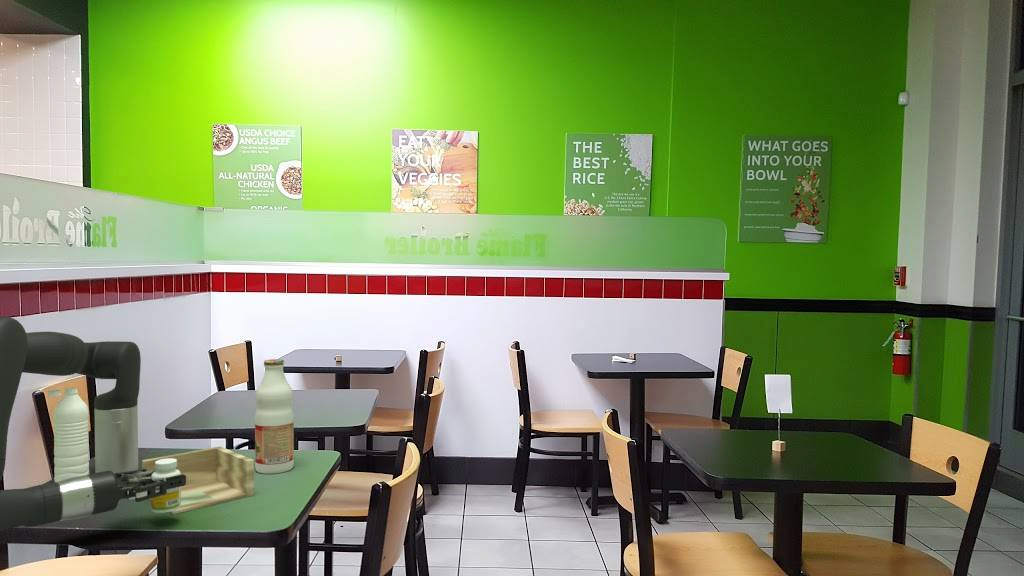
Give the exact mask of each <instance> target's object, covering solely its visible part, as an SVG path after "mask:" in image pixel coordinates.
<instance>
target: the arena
mask: <svg viewBox="0 0 1024 576" xmlns="http://www.w3.org/2000/svg"><path fill="white" fill-rule="evenodd" d="M167 458H173V459H176V460H177V467H176V469H177V470H179V471H180V473H181V474H184V475H185V476H186V484H185V485H184V486H181V506H180V508H179V509H177V510H175V511H171V512H169V513H170V514H171V515H177V514H181V513H184V512H188V511H193V510H197V509H198V510H199V509H201V508H206V507H210V506H213V505H214V506H215V505H219V504H222V503H227V502H232V501H235V500H239V499H243V498H249V497H251V496H254V495H255V459H253V458H250V457H247V456H244V455H242V454H240V453H237V452H235V451H232V450H230V449H227V448H225V447H223V446H214V447H208V448H204V449H197V450H192V451H187V452H180V453H176V454H175V453H174V454H171V455H163V456H160V457H158V456H157V457H152V458H148V459H143V460H141V465H142V466H141V467H142V468H141V469H147V471H149V470H153V472H154V471H156V470H155V462H156V461H158V460H161V459H167ZM148 501H150V502H151V499H148Z"/></svg>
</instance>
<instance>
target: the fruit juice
mask: <svg viewBox="0 0 1024 576" xmlns="http://www.w3.org/2000/svg"><path fill="white" fill-rule="evenodd" d="M263 365H264V366H263V367H264V369H265V370H264V375H263V377H262V380H261V382H260V385H259V386H258V387H257V389H256V391H255V395H254V396H255V397H254V398H255V402H256V405H257V407H256V410H255V413H254V469H255V471H256V472H257V473H259V474H265V475H267V474H269V475H272V474H274V475H275V474H279V473H285V472H288V471H291V470H292V469H293V468H294V465H295V455H294V454H295V449H294V448H295V445H294V444H295V443H294V442H295V441H294V439H295V436H294V435H295V434H294V433H295V432H294V431H295V429H294V427H295V425H294V422H295V417H294V416H295V415H294V410H293V407H292V401H293V399H294V392H293V391H294V390H293V388H292V387H291V385H290V384H289V383H288V380H287V379H286V375H285V373H284V367H285V359H282V358H271V359H270V358H269V359H265V360H264V362H263Z"/></svg>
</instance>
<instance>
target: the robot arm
mask: <svg viewBox="0 0 1024 576" xmlns="http://www.w3.org/2000/svg"><path fill="white" fill-rule="evenodd" d="M141 358H142V357H141V351H140V348H139V346H138V345H137V343H135V342H133V341H118V340H117V341H109V340H108V341H95V342H85V341H84V340H82V339H81V338H80V337H78V336H76V335H73V334H70V333H66V332H65V333H64V332H57V331H31V332H26V330H25V328H24V326H23V325H22V323H20V322H19V320H17V319H15V318H13V317H9V316H8V317H6V316H4V317H0V481H2V477H3V476H4V473H5V468H6V461H7V460H6V457H7V447H8V446H7V444H8V443H7V442H8V434H9V426H10V420H11V416H12V411H13V408H14V404H15V402H16V401H15V399H16V397H17V395H18V394H17V393H18V390H19V387H20V382H21V379H22V375H23V373H24V374H25V373H26V374H35V375H36V374H38V375H44V376H45V375H46V376H55V377H63V376H64V377H65V376H73V375H77V374H78V375H82V376H87V377H90V378H92V379H93V378H94V379H98V380H115V385H114V388H112V389H111V390H109V391H107V392H104V393H101V394H98V395H97V396H95V398H94V455H95V456H94V471H95V472H93V473H89V474H88V475H82V476H77V477H72V478H68V479H65V480H61V481H58V482H55V481H52V482H48V483H42V484H38V485H34V486H30V487H25V488H11V489H1V490H0V532H1V531H6V530H10V529H15V528H19V527H26V528H32V527H39V526H43V525H48V524H52V523H58V522H61V521H62V522H63V521H69V520H77V519H81V518H85V517H89V516H94V515H97V514H98V515H99V514H102V513H107V512H111V511H114V510H116V509H117V507H118V505H119V502H120V500H124V499H126V500H134V501H135V502H136V503H141V502H143V501H147V500H149V499H151V498H154V497H158V496H161V495H165V494H167V489H171V488H176V487H180V486H184V485H185V484H186V476H185V475H184V474H181V475H176V476H171V477H166V478H158V479H154V478H153V477H151V475H152V474H153V473H154V472H155V471H154V472H153V470H149V471H147V469H142V468H141V469H139V433H138V432H139V421H138V420H139V419H138V418H139V417H138V406H139V405H138V403H139V402H138V399H139V396H140V395H139V393H140V385H141V384H140V383H141V382H140V381H141V379H140V378H141V363H142V361H141V360H142V359H141ZM157 486H160V488H156V487H157ZM155 488H156V489H155Z"/></svg>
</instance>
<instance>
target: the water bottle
mask: <svg viewBox="0 0 1024 576" xmlns="http://www.w3.org/2000/svg"><path fill="white" fill-rule="evenodd" d="M62 393H63V394H62ZM78 393H79V391H78V387H67V388H64V392H63V391H62V390H59V389H57V390H49V391H47V396H48V397H59V396H62V395H63V397H62V398H61V399H60V401H58V404H57V405H56V406H55V408H54V410H53V422H54V423H53V433H54V434H53V437H54V438H53V445H54V446H53V455H54V458H53V464H54V470H53V471H54V476H53V477H54V479H53V480H54V482H58V481H61V480H65V479H68V478H72V477H77V476H82V475H88V474H90V462H89V461H90V452H89V451H90V445H89V432H90V431H89V429H90V428H89V407H88V405H87V404H86V402H85V401H84V400H83V399H82V397H81V396H80V395H79V394H78Z"/></svg>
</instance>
